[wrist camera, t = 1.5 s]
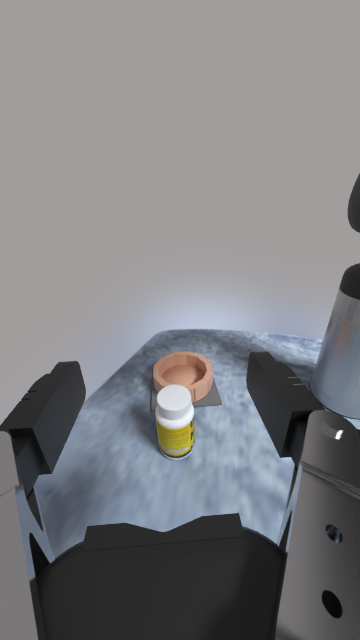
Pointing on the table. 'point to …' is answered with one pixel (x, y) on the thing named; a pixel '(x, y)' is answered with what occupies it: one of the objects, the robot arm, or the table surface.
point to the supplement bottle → (175, 422)
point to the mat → (208, 400)
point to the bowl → (184, 373)
